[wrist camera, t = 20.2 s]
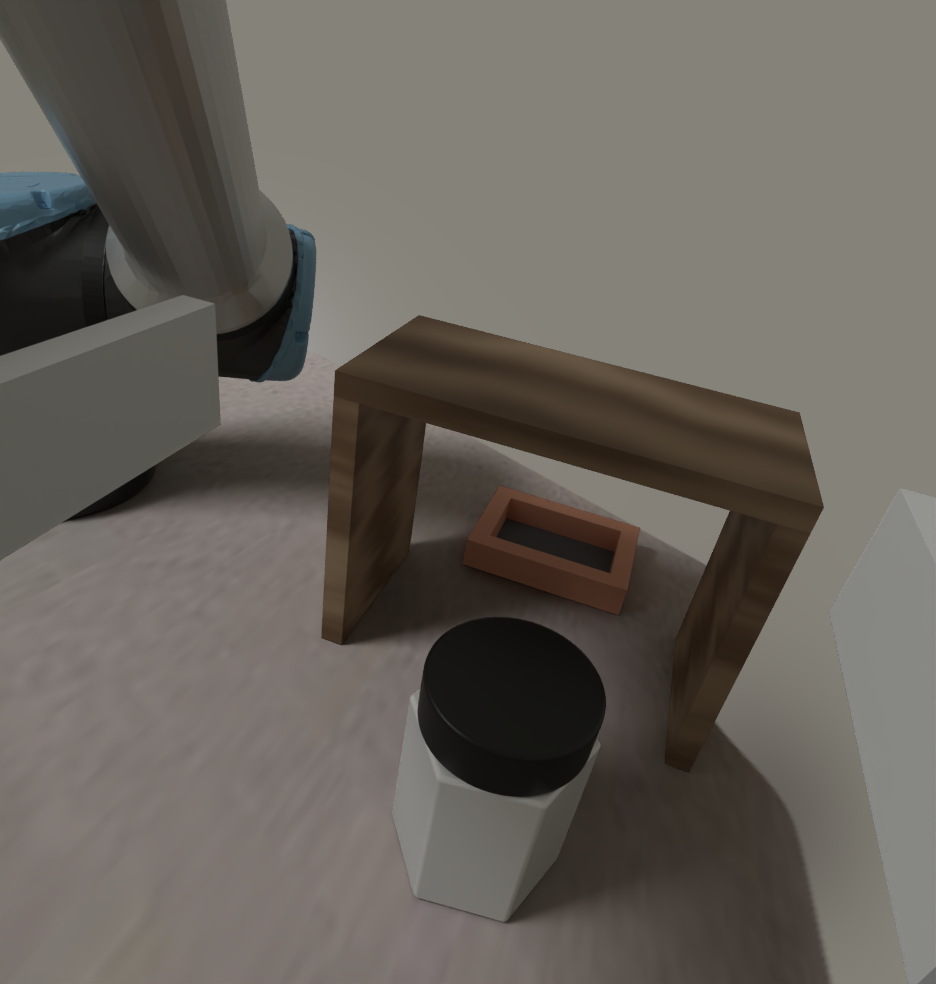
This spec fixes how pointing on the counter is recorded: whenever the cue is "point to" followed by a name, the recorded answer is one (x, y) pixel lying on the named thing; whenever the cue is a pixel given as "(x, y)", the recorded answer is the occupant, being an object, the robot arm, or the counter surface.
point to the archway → (583, 443)
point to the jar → (494, 762)
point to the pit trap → (554, 549)
